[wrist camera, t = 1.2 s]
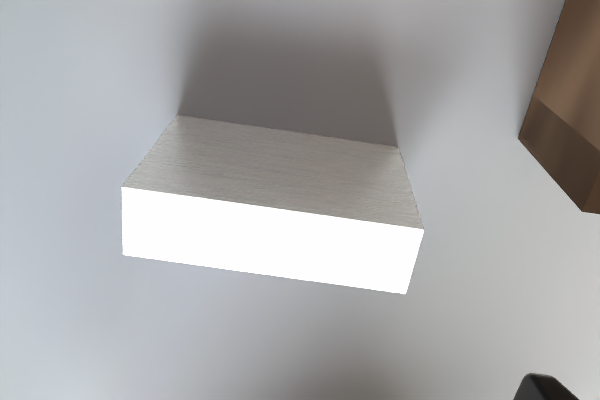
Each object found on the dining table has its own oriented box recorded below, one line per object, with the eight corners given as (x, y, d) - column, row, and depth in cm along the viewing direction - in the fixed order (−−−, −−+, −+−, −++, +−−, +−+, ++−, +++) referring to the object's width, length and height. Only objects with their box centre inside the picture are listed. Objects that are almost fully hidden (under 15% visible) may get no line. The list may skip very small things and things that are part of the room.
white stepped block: (397, 144, 15) (423, 229, 11) (368, 265, 16) (382, 375, 12) (178, 113, 14) (121, 186, 10) (174, 237, 16) (124, 340, 12)
